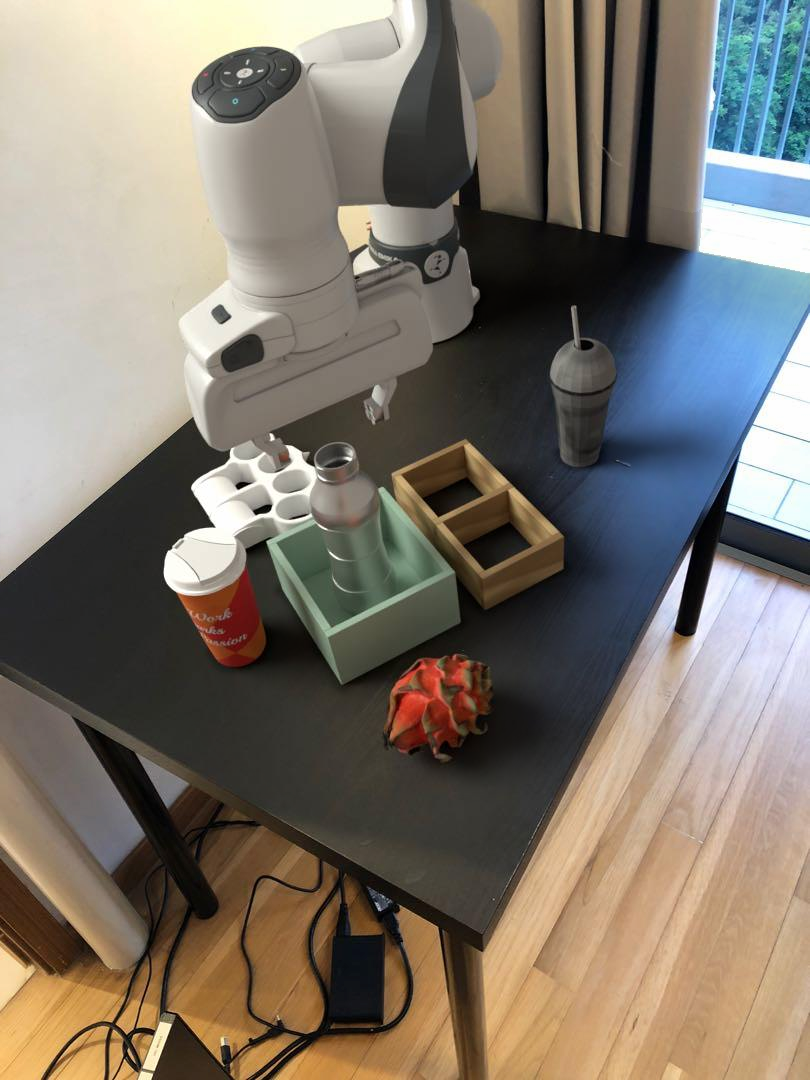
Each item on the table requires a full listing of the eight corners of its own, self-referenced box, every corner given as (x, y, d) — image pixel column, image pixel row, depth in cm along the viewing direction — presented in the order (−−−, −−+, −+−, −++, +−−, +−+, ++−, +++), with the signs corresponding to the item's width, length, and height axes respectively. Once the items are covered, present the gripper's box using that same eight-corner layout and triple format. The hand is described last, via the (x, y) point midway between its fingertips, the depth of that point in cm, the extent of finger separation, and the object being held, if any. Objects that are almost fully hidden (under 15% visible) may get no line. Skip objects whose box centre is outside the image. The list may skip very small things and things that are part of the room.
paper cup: (187, 657, 89) (142, 567, 79) (236, 605, 93) (198, 513, 83) (244, 688, 86) (204, 598, 76) (292, 633, 90) (260, 540, 80)
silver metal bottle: (411, 604, 90) (386, 459, 75) (354, 634, 88) (316, 492, 73) (381, 565, 94) (351, 421, 79) (325, 594, 92) (284, 451, 77)
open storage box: (282, 589, 94) (265, 540, 89) (392, 536, 98) (383, 486, 92) (342, 685, 85) (327, 637, 79) (461, 622, 88) (455, 572, 83)
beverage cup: (610, 477, 100) (621, 327, 86) (545, 474, 102) (546, 327, 87) (612, 435, 105) (623, 287, 90) (550, 433, 106) (552, 287, 92)
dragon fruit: (504, 702, 83) (404, 781, 81) (451, 629, 84) (350, 706, 81) (529, 704, 75) (418, 793, 72) (470, 624, 75) (358, 709, 73)
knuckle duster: (186, 485, 108) (292, 437, 112) (243, 574, 96) (358, 517, 100) (178, 465, 105) (286, 416, 109) (235, 554, 94) (354, 496, 98)
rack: (396, 505, 101) (391, 473, 97) (468, 470, 104) (465, 438, 100) (484, 610, 89) (482, 579, 85) (563, 569, 92) (564, 536, 88)
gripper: (398, 235, 69) (416, 376, 80) (156, 329, 64) (209, 467, 74) (439, 268, 65) (452, 411, 76) (184, 370, 60) (236, 510, 70)
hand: (330, 440), depth 75 cm, fingers open, 8 cm apart
